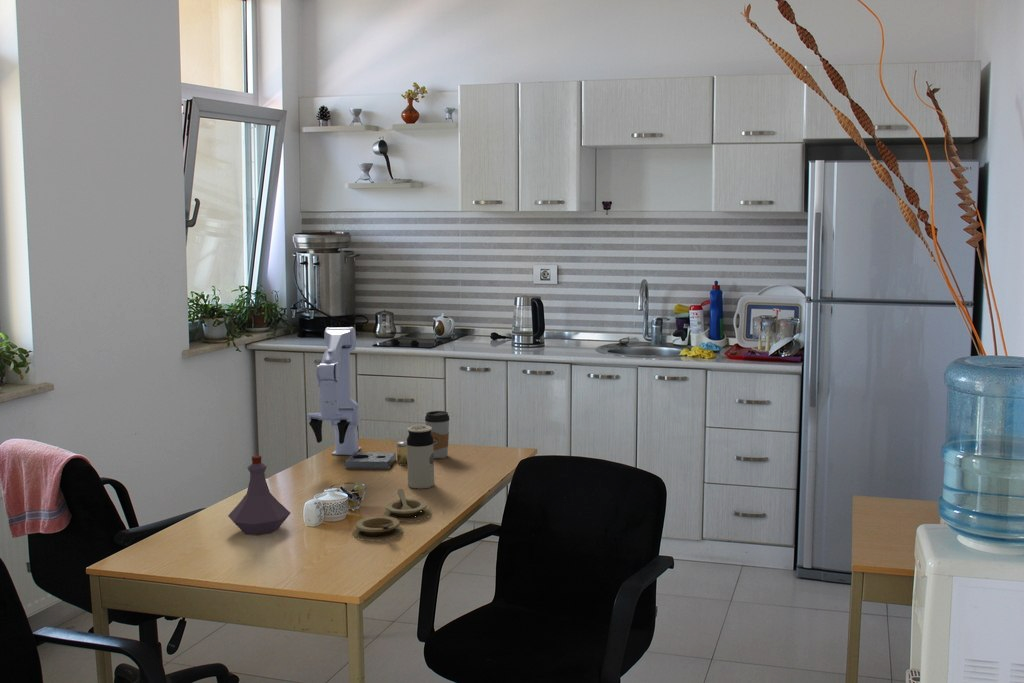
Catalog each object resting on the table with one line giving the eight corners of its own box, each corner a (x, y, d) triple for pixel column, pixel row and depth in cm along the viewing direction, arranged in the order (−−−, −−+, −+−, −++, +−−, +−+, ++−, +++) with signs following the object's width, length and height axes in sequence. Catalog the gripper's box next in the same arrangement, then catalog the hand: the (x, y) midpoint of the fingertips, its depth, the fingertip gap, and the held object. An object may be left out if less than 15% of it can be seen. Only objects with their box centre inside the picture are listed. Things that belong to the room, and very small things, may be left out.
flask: (266, 516, 285) (262, 446, 283) (304, 527, 275) (301, 455, 272) (215, 531, 273) (211, 458, 270) (253, 544, 263) (249, 468, 260)
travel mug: (403, 487, 312) (401, 429, 309) (417, 480, 319) (415, 424, 316) (425, 490, 308) (423, 431, 306) (439, 483, 315) (437, 426, 313)
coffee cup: (422, 458, 345) (420, 415, 343) (431, 452, 353) (430, 410, 351) (445, 460, 343) (444, 416, 341) (454, 454, 351) (453, 411, 349)
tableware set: (387, 507, 295) (386, 486, 294) (449, 513, 288) (449, 493, 287) (333, 539, 268) (332, 517, 267) (400, 547, 261) (399, 525, 260)
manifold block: (354, 459, 346) (354, 452, 346) (395, 459, 345) (395, 452, 344) (345, 468, 334) (345, 461, 334) (387, 469, 333) (387, 461, 333)
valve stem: (398, 461, 343) (398, 440, 342) (410, 461, 342) (410, 441, 341) (396, 464, 339) (395, 443, 338) (408, 464, 338) (407, 444, 337)
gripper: (302, 402, 324) (304, 444, 326) (345, 404, 320) (346, 446, 322) (311, 398, 331) (313, 439, 333) (354, 399, 327) (355, 441, 329)
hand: (330, 442), depth 328 cm, fingers open, 7 cm apart
